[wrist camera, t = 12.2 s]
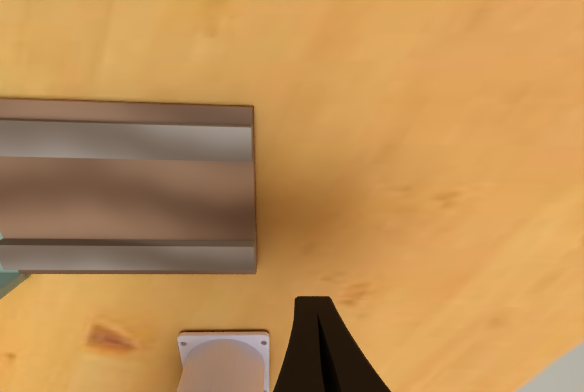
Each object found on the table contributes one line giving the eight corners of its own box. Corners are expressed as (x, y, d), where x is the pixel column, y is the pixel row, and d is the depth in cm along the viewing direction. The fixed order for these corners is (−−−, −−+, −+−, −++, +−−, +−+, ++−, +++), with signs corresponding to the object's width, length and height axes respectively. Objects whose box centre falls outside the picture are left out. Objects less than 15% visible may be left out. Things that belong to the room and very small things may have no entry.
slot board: (257, 265, 21) (255, 281, 19) (31, 264, 20) (9, 281, 19) (253, 105, 16) (250, 109, 15) (-43, 96, 15) (-81, 98, 14)
